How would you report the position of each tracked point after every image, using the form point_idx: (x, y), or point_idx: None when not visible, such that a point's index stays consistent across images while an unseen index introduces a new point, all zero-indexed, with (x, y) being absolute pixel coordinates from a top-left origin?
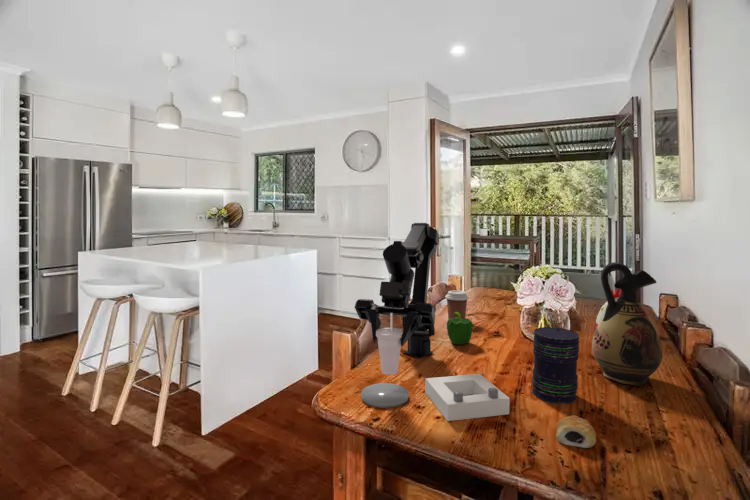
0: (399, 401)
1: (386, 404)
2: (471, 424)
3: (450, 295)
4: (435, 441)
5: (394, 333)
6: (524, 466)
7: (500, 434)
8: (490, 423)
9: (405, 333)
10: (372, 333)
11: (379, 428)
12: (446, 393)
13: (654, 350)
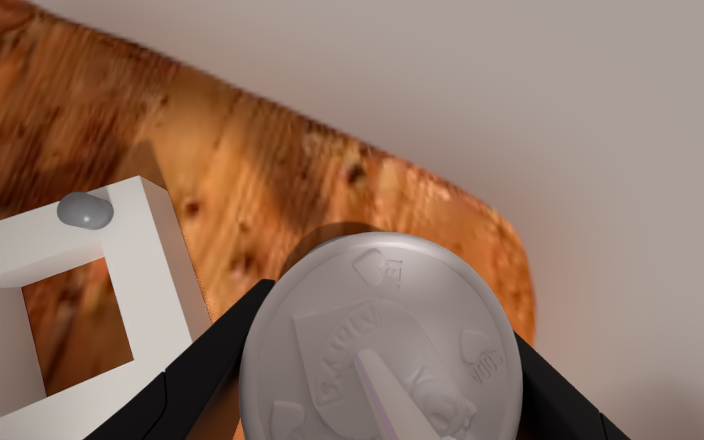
0: (304, 256)
1: (340, 236)
2: (101, 184)
3: None
4: (206, 98)
5: (327, 308)
6: (18, 33)
7: (31, 146)
8: (42, 197)
9: (212, 338)
10: (534, 351)
11: (339, 135)
12: (132, 258)
13: None
